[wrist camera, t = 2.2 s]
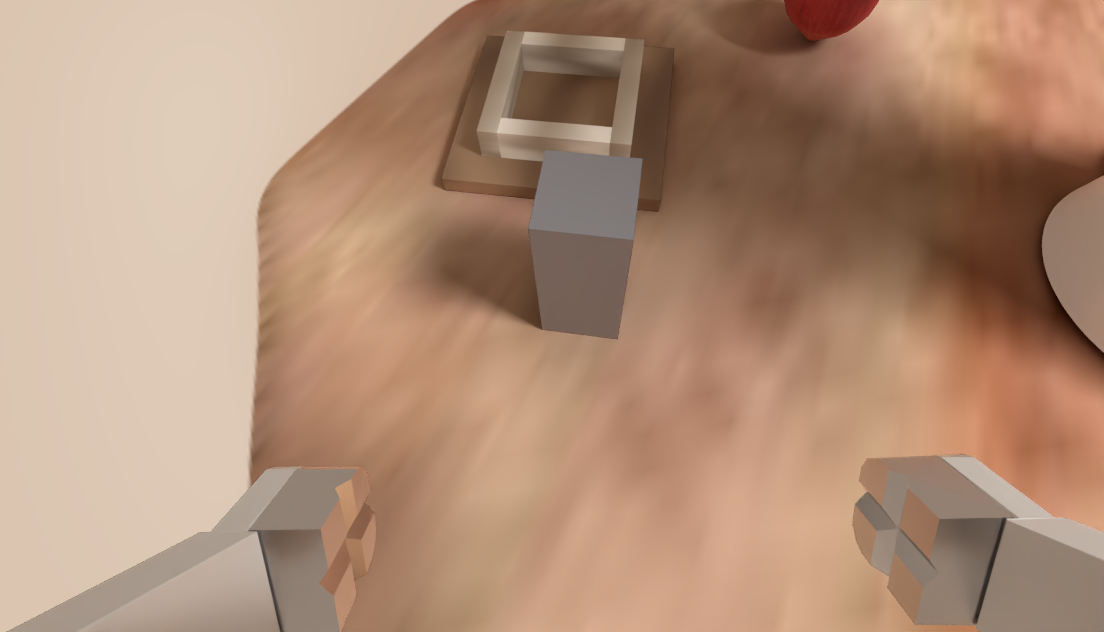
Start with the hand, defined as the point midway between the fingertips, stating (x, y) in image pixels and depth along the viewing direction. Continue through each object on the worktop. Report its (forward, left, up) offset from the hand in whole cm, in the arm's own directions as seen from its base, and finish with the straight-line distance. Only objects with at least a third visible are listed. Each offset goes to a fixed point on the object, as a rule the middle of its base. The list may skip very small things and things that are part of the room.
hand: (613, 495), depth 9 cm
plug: (+2, -12, -16) cm, 21 cm away
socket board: (+5, -25, -16) cm, 31 cm away
